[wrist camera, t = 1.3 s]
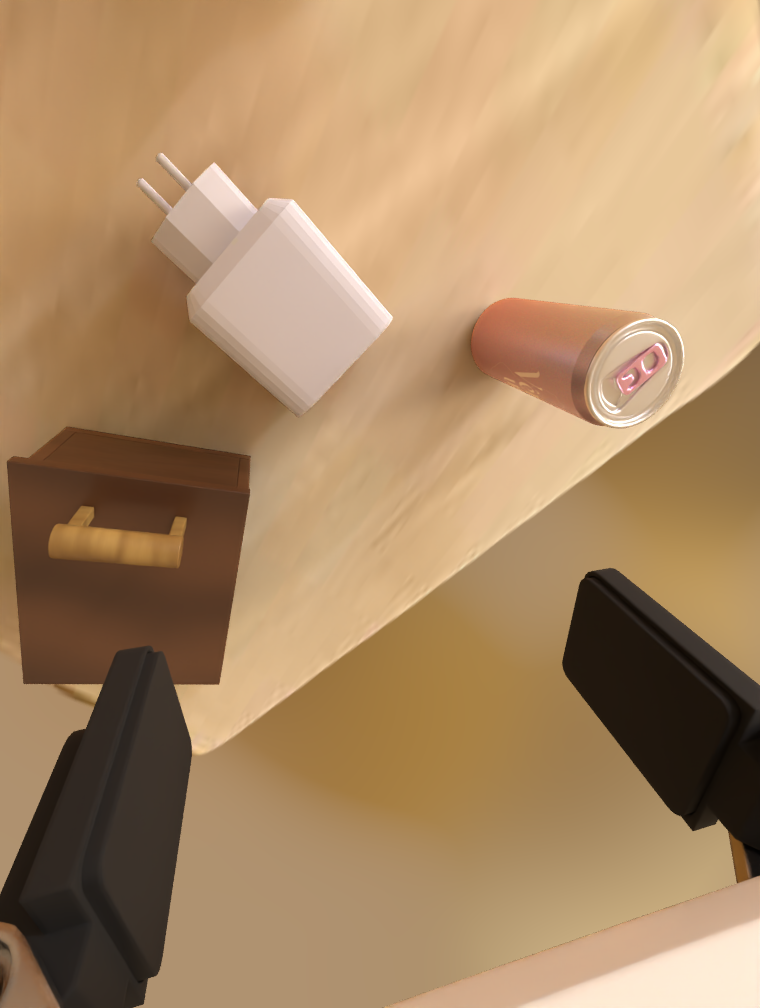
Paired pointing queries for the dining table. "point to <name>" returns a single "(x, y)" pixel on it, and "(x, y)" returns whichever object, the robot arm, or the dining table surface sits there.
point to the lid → (121, 569)
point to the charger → (267, 286)
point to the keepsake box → (146, 457)
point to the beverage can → (581, 357)
